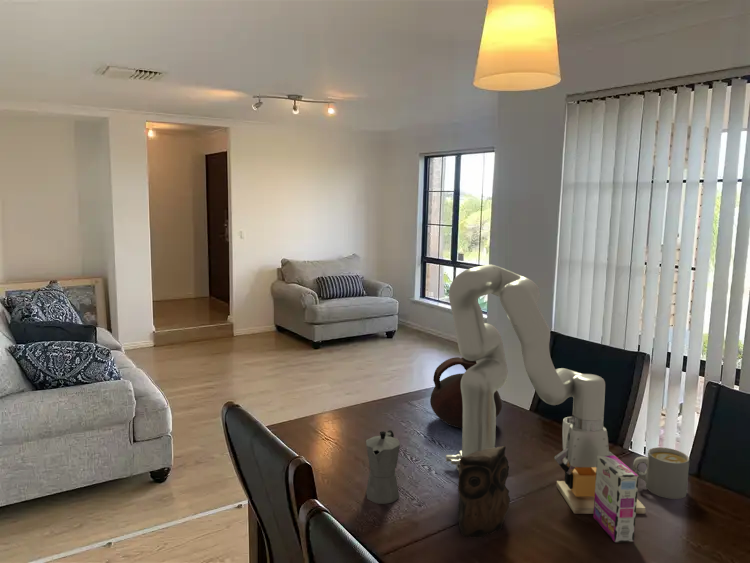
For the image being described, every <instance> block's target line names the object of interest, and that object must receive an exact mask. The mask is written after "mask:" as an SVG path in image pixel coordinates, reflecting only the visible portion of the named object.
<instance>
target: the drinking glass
mask: <svg viewBox="0 0 750 563" xmlns="http://www.w3.org/2000/svg"><path fill="white" fill-rule="evenodd" d="M571 417H572V416H567V417H564V418H563V419H562V434H561V435H562V436H561V437H562V451H563V450H564V449H566V440H567V435H568V431H569V427H570V425H572V424H571V423H568V422H567V418H571ZM562 461H563V462H564V463H565V464H566V463H567V461H568V460H567V459H566V458H564V459H562Z"/></svg>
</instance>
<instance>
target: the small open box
mask: <svg viewBox="0 0 750 563" xmlns="http://www.w3.org/2000/svg"><path fill="white" fill-rule="evenodd" d="M596 468H597V467H575V469H574V470H573V472H572V474H573V488H572V489H571V490H572V492H573V493H574V495H575V496H595V483H596Z"/></svg>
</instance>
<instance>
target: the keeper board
mask: <svg viewBox="0 0 750 563" xmlns="http://www.w3.org/2000/svg"><path fill="white" fill-rule="evenodd" d="M556 488H557V490H558V491H559V493H560V494H561V496H562V497H563V498H564V500H565V502H566V503H567V505H568V506H569V508H570V509H571V511H572V512H573V514H580V515H581V514H584V515H585V514H588V515H589V514H593V515H594V499H595V496H575V495H574V493H573V492H572V490H571V489H570V488H569V487H568V485H567V484H566V483H565V480H556ZM636 514H646V506H645V505H644V504H643V503H642V502H641V501H640V500H639V499H638V498H637V504H636Z"/></svg>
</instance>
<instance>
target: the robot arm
mask: <svg viewBox="0 0 750 563" xmlns="http://www.w3.org/2000/svg"><path fill="white" fill-rule="evenodd" d="M490 294H491V295H494V296H496V297H498V298H499V300H500V304H501V306H502V309H503V310H504V312H505V314H506V316H507V318H508V320H509V322H510V324H511V326H512V328H513V331H514V332H515V334H516V337H517V338H518V340H519V343H520V348H521V355H522V357H523V358H522V359H523V362H524V368H525V372H526V374H527V377H528V378H529V380H530V382H531V384H532V386H533V389H534V391H535V392H536V394H537V395H538V397H539V398H540V400H541V401H543V402H544V403H546V404H548V405H551V406H556V405H557V406H558V405H560V404H563V403H564V402H565V401H566V400H567V399H568V398H573V399H572V400H573V401H572V402H573V403H572V414H571V416H570V417H571V418H567V422H568V423H571V424H572V425H570V427H569V431H568V435H567V440H566V449H564V450H563V449H562V451H560V452H559V453H558V454H556V455H555V456H554V460H555V461H556V462H557V464H558V465H559V466H560V468H561V469H562V470H563V471H564V472H565V473H564V481H565V483H566V484H567V485H568V487H569V488H570V489H572V488H573V474H572V472H573V470H574V469H575V467H596V468H597V456H616V455H615V454H614V453H613V452H611V451H610V449H609V448H610V447H609V437H608V431H607V428H606V427H605V426H604V418H605V402H606V401H605V396H606V381H605V379H604V378H602V376H599V375H597V374H592V373H581V372H578V371H576V370H572V369H568V368H564V367H561V368H555V366H554V363H553V360H552V358H551V353H550V339H551V330H550V327H549V325H548V323H547V320H546V319H545V318H544V316H543V315H544V314H542V312H541V310H540V308H539V305H538V302H539V300H540V297H541V296H540V295H541V292H540V288H539V286H538V284H536V282H534V281H533V280H532V279H530V278H528V277H526V276H523V275H520V274H518V273H515V272H513V271H512V270H508V269H506V268H504V267H501V266H498V265H495V264H484V265H479V266H478V265H477V266H474V267H471V268H468V269H465V270H463V271H461V272H460V273H459V274H458V275H457V276H456V277H454V278H453V280H452V282H451V284H450V287H449V290H448V300H449V306H450V310H451V312H452V317H453V318H452V319H453V325H454V330H455V336H456V340H457V347H458V351H459V354H460V355H461V358H462V357H463V358H464V359H466V360H468V361H476V363H477V364H475V365H474V366H472V367H470V368H469V369H468V370H465V371H464V374H463V376H462V379H461V393H462V401H463V428H461V430H462V434H461V435H462V438H461V450H459V453H456V454H445V461H446V462H450V464H451V465H456V467H455V468H456V470H457V472H459V468H460V459H461V458H462V457H463V456H464V457H465V456H467V455H469V454H471V453H474V452H476V451H482V450H484V449H490V448H496V432H497V431H496V429H497V428H496V425H497V417H496V407H495V402H494V392H496V391H499V390H500V389H501V388H502V387H503V386H504V385H506V382H507V381H508V380H507V379H508V376H509V375H508V374H509V372H508V364H507V358H506V354H505V349H504V344H503V339H502V336H501V333H500V331H499V330H498V329H497V327H495V326H494V325H492V324H491V323H487V322H485V320H484V313H483V310H482V308H481V306H480V303H479V301H478V299H479V298H481V297H483V296H486V295H490ZM564 458H566V459H567V460H568V461H567V463H566V464H565V463H564V462H563V459H564Z"/></svg>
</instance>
